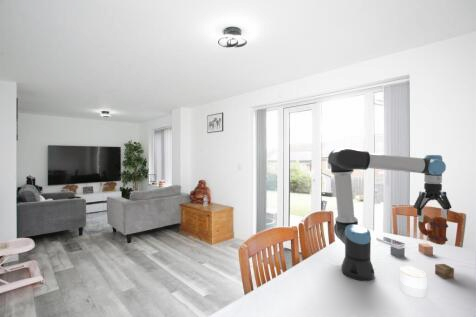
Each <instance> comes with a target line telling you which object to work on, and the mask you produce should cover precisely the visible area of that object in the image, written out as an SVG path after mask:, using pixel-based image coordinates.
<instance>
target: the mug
mask: <svg viewBox="0 0 476 317" xmlns="http://www.w3.org/2000/svg"><path fill="white" fill-rule="evenodd" d="M428 223H429V225H430V226H429V229H427V228H426V225H427V224H428ZM417 227H418V229H419V231H420V233H421V234H422V235H424V236H427V237H428V238H427V239H428V241H429V242H431V243H433V244H436V245H440V246H443V245H445V244H446V242H448V241H449V240H448V238H447V229H448V228H449V224H448V223H447V222H446V218H443V217H441V216H435V215H434V216H431V217H429V216H428V215H425V214H423V222H420V221H418V220H417Z"/></svg>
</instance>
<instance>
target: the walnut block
mask: <svg viewBox="0 0 476 317" xmlns="http://www.w3.org/2000/svg"><path fill="white" fill-rule="evenodd" d="M434 266H435V269H434V273H435V275H437V276H438V277H440V278H442V279H444V280H451V279H452V280H454V279H455V268H454V267H452V266H450V265H448V264H446V263H435V265H434Z"/></svg>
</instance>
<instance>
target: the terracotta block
mask: <svg viewBox="0 0 476 317" xmlns="http://www.w3.org/2000/svg"><path fill="white" fill-rule="evenodd" d="M418 252H419V253H420V254H422V255H428V256H430V255H431V256H433V255H434V246H433V245H431V244H429V243H426V242H425V243H424V242H421V243H420V242H419V243H418Z"/></svg>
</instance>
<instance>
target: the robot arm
mask: <svg viewBox="0 0 476 317" xmlns="http://www.w3.org/2000/svg"><path fill="white" fill-rule="evenodd" d="M327 161H328V164H329V166H330V170H331V174H332V175H334V185H335V197H336V209H337V210H336V211H337V217H336V218H335V223H334V225H333V230H334V231H333V232H334V234H335V236H336V237H337V239H338V240H340V241H341V242H342V243H343V244H344V258H343V261H342V264H341V272H342V274H343V275H345V276H346V277H348V278H350V279H353V280H358V281H363V282H364V281H366V282H367V281H371V280H373V279H374V278H375V269H374V266H373V264H372V261H371V240H372V236H371V232H370V230H369V229H368V228H366V226H363V225H359V221H358V218H357V217H356V216H355V211H354V197H353V186H352V185H353V184H352V174H353V173H354V170H362V171H366V170H368V169H373V170H374V169H375V170H385V171H396V172H404V173H413V174H414V173H417V174H424V178H423V179H424V183H423V189H424V190H425V191H422V190H421V191H419V193H418V196H417V198H416V200H415V202H414V204H413V207H412V208H414V209H416V216H417V222H418V221H420V222H423V215H424V210H423V209H424V208H425V206H426V205H427V204H428V203H429V202H430V201H436V202H437V203H438V205H440V207H441V209H440V217H443V218H446V223H447V222H448V221H447V220H448V219H447V218H448V217H447V216H448V213H449V211H450V210H451V209H452V205H451V203H450V200H449V198H448V196H447V191H443V190H442V188H443V184H442V183H443V174H444V173H445V171H446V168H447V166H446V163H445V162H444V161H443V156H442V155H440V154H426V155H424V158H422V157H411V156H400V155H389V154H380V153H379V154H378V153H370V152H369V151H368V150H360V149H355V148H351V147H350V148H349V147H342V148H341V147H338V148H334V149H332V151H330V152H329V154H328V157H327Z"/></svg>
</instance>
